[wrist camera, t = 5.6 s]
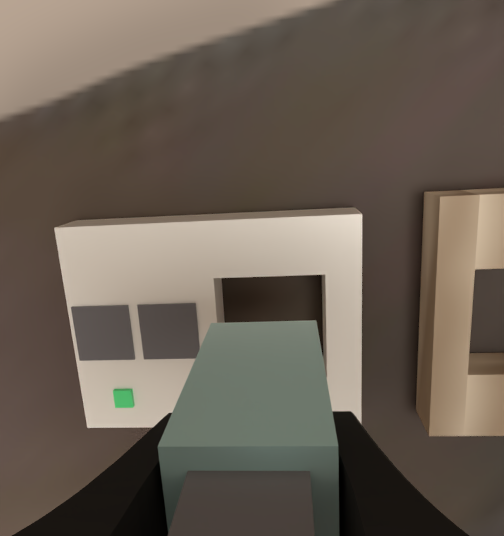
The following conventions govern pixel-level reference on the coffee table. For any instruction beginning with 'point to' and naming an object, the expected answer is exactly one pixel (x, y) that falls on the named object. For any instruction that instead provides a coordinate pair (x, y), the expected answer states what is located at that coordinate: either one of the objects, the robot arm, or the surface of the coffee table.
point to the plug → (253, 437)
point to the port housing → (196, 299)
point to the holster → (458, 314)
